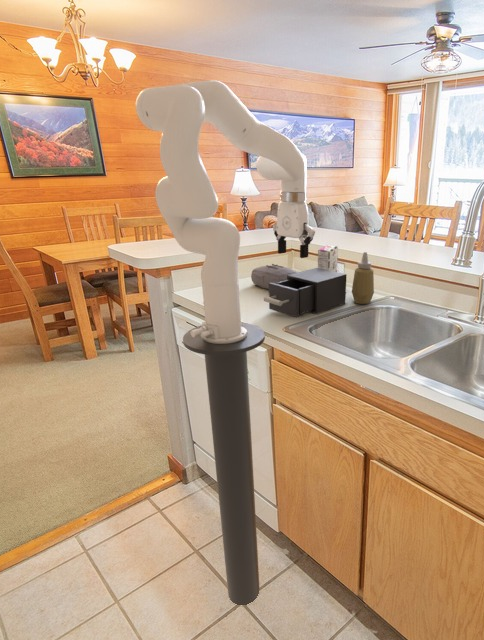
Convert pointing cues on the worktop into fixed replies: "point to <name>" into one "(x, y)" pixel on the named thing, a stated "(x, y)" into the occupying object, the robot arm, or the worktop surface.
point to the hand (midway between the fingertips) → (292, 255)
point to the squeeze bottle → (363, 282)
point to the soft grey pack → (270, 275)
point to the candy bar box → (328, 258)
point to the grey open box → (324, 287)
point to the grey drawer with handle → (291, 297)
